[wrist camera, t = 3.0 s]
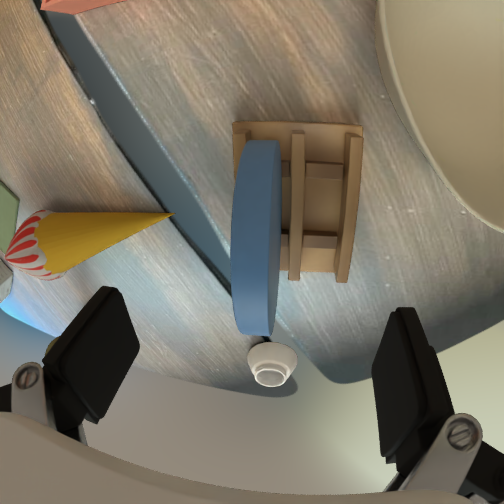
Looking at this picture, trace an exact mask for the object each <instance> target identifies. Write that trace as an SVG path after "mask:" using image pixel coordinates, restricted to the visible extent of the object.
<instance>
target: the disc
mask: <svg viewBox="0 0 504 504" xmlns="http://www.w3.org/2000/svg"><path fill="white" fill-rule="evenodd" d="M281 225H282V169H281V152H280V145H279V141H278V140H249V141H247V143H246V144H245V146H244V148H243V151H242V154H241V157H240V161H239V165H238V170H237V176H236V182H235V190H234V198H233V208H232V222H231V247H230V266H231V289H232V301H233V309H234V315H235V320H236V324H237V327H238V329H239V331H240V333H242V334H246V335H259V336H271V334H272V332H273V327H274V322H275V314H276V306H277V296H278V284H279V270H280V252H281Z"/></svg>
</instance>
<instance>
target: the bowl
mask: <svg viewBox="0 0 504 504" xmlns="http://www.w3.org/2000/svg"><path fill="white" fill-rule="evenodd" d="M375 44H376V53H377V58H378V63H379V67H380V71H381V75H382V78H383V81H384V84H385V87H386V90H387V92H388V95H389V97H390V100H391V102H392V104H393V106H394V108H395V110H396V112H397V114H398V116H399V118H400V119H401V121H402V123H403V125H404V126H405V128H406V130H407V131H408V133H409V134H410V136H411V137H412V139H413V140H414V142H415V143H416V144H417V146H418V148H419V149H420V151H421V152H422V153H423V155H424V156H425V158H426V159H427V161H428V162H429V163H430V165H431V166H432V168H433V169H434V171H435V172H436V174H437V175H438V176H439V178H440V179H441V180H442V182H443V183H444V184H445V186H446V187H447V188H448V190H449V191H450V192H451V193H452V194H453V195H454V197H455V198H456V199H457V200H458V201H459V202H460V203H461V204H462V205H463V206H464V207H465V208H466V209H467V210H468V211H469V212H470V213H471V214H473V215H474V216H475V217H476V218H478V219H479V220H480V221H482V222H483V223H485V224H486V225H488V226H490V227H492V228H494V229H496V230H498V231H500V232H503V233H504V0H376V11H375Z"/></svg>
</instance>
